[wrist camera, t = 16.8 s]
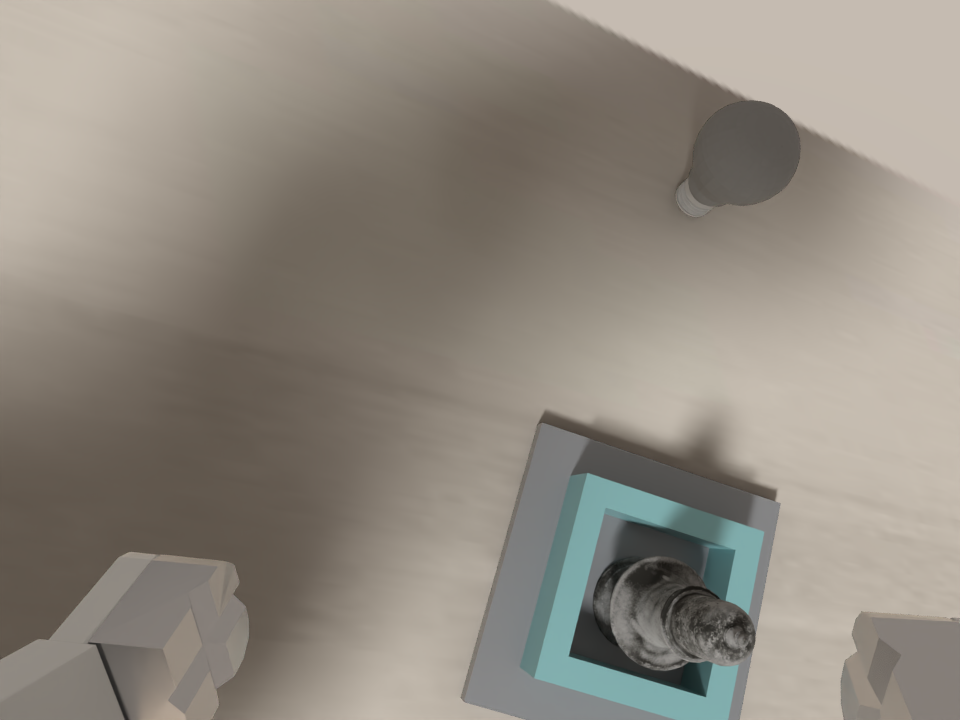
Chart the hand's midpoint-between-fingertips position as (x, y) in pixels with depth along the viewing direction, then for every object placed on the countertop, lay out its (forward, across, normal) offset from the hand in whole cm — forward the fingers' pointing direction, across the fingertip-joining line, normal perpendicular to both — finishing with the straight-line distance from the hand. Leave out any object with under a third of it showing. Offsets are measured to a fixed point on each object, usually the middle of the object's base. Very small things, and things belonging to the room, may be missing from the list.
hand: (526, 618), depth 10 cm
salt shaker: (+26, -3, +25) cm, 36 cm away
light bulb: (+45, -7, +7) cm, 46 cm away
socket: (+27, -3, +26) cm, 37 cm away
